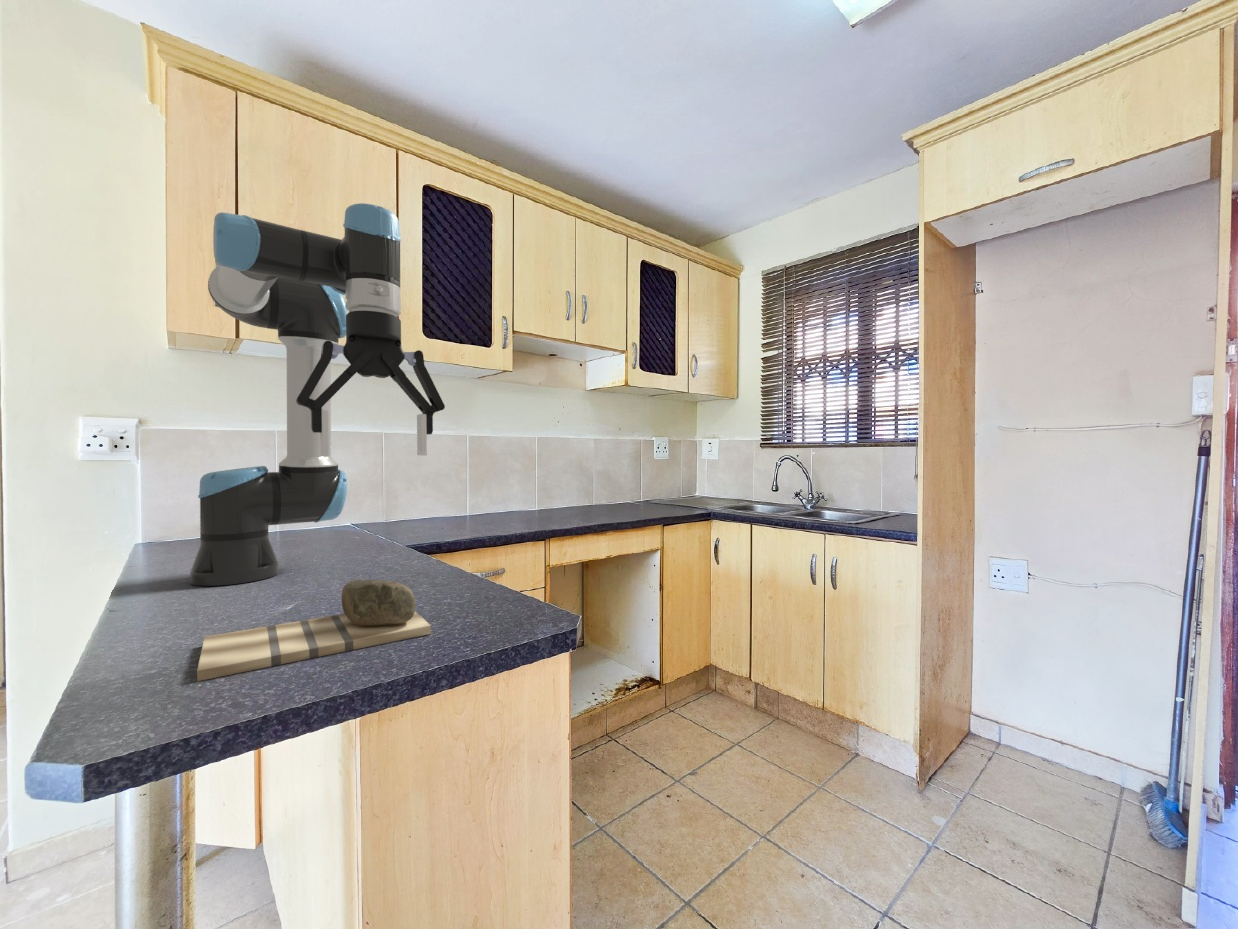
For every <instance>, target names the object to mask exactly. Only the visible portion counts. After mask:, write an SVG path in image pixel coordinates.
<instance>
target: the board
mask: <svg viewBox="0 0 1238 929" xmlns="http://www.w3.org/2000/svg"><path fill="white" fill-rule="evenodd" d="M427 635H432V625H431V624H430V623H429V622H428V621H426V619H424V618H423V617H422V616H421V615H420V614H419V613H418V612H417V611H415V613H414V615H413V617H412V618H411V619H410V620H409V621H407V622H405V623H401V624H394V625H391V624H389V625H377V626H360V625H357V624H354V623H353V622H352V621H351V620H349V619H348V618H347V616H346V615H345V613H340V614H334V615H328V616H321V617H315V618H310V619H304V620H298V621H293V622H292V621H291V622H285V623H279V624H275V625H274V624H273V625H269V626H261V627H255V628H249V629H243V630H238V631H237V630H236V631H230V632H225V633H218V634H212V635H207V636H204V637H203V638H204V639H203V643H202V648H201V652H200V657H199V661H198V665H197V670H196V674H197V676H196V677H197V678H196V680H197V682H200V681H201V682H202V681H206V680H210V679H216V678H220V677H225V676H230V675H236V674H241V673H245V672H249V671H250V672H251V671H255V670H260V669H264V668H265V669H266V668H270V667H273V666H280V665H285V664H290V663H295V662H299V661H305V660H310V659H315V658H319V657H325V656H329V655H334V654H339V653H344V652H348V651H354V650H359V649H364V648H368V647H373V646H378V645H383V644H387V643H393V642H398V641H403V640H408V639H413V638H417V637H422V636H427Z"/></svg>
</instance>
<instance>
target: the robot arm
mask: <svg viewBox="0 0 1238 929" xmlns="http://www.w3.org/2000/svg"><path fill="white" fill-rule="evenodd" d="M344 211H345V212H344V219H343V220H344V221H343V225H342V226H343V228H344V236H343V238H342V239H341V238H335V237H332V236H328V235H323V234H320V233H316V232H312V231H306V230H302V229H298V228H295V227H291V226H286V225H282V224H277V223H274V222H270V221H266V220H262V219H257V218H254V217H252V216H251V217H250V216H248V215H246V214H242V215H240V214H237V213H236V214H235V213H228V212H223V211H222V212H217V213H216V214H215V216H214V219H213V221H214V223H213V236H212V238H213V240H212V241H213V243H212V244H213V257H214V260H215V262H216V263H217V264H218V266H215V268H213V270H212V271H211V272H210V274H209V277H208V281H207V290H208V292H209V296H210V297H211V299H212V301H213V302H214V303H215V304H216V306H217V307H218V308H219V309H221V310H222V311H223V312H224V313H226V314H227V315H229V316H230V317H232V318H233V319H236V320H238V321H240V322H242V323H245V324H247V325H250V326H254V327H257V328H262V329H270V330H276V331H277V340H279V342H280V343H282V345H284V346H285V349H286V456H285V458H283V459H282V460H281V461H280V462H278V471H274V472H273V471H272V472H271V471H270V472H269V469H268V468H267V466H265V465H258V466H251V467H250V466H248V467H241V468H231V469H225V470H224V469H223V470H218V471H213V472H212V471H210V472H207V473H206V474H204V475H202V476H201V478H200V480H199V494H198V496H197V497H198V499H199V519H200V520H199V526H200V527H199V533H200V544H199V545H200V546H199V548H198V550H197V553H196V556H195V558H194V561H193V565H192V567H191V570H190V571H189V572H190V573H189V579H190V582H189V583H190V584H191V585H194V586H199V587H200V586H202V587H211V586H212V587H213V586H216V587H217V586H229V585H237V584H245V583H249V582H251V583H252V582H256V581H260V580H265V579H269V578H272V577H275V576H277V575H279V573H280V566H279V565H280V564H279V560H278V558H277V555H276V553H275V551H274V548H273V546H272V543H271V542H270V537H269V535H270V534H269V526H277V525H287V524H288V525H289V524H298V523H299V524H301V523H302V524H304V523H319V522H326V521H333V520H335V519H337V518H338V517H339V516H340V515H341V514H342V511H343V509H344V506H345V503H346V498H347V492H348V491H347V490H348V483H347V480H348V479H347V475H346V472H345V471H343V470H341V469H339V462H337V461H336V460H335V459H334V458H333V457H332V455H331V454H332V448H331V446H332V445H331V444H332V442H331V440H332V436H331V435H332V432H331V431H332V420H331V419H332V418H331V417H332V408H331V407H332V398H333V397H334V396H335V395H336V394H337V393H338V392H339V391H340V390H341V389H342V388H343V387H344V386H345V384H347V383H348V382H349V381H350V379H351V378H353V376H354V375H356V374H358V375H360V376H361V377H363V378H370V377H376V378H377V379H378V378H379V379H385V378H389V377H390V378H391V379H392V380H393V382H395V383H396V384H397V385H398V387H399V388H400V389H401V390H402V391H403V392H404V393H405V395H406V396H407V397H408V398H409V399H410V400H411V401H412V403H413V404H414V405H415V406H416V407H417V408H418V410H419V411H420V413H419V414H417V415H416V446H417V450H416V453H417V454H416V455H417V456H427V455H428V454H427V453H428V452H427V451H428V450H427V448H428V447H427V445H428V442H427V440H428V439H427V437H428V436H427V435H432V434H433V432H434V427H433V426H434V425H433V424H434V418H433V416H434V414H436V413H437V412H440V411H444V410H445V409H446V405H445V403H444V401H443V399H442V397H441V395H440V393H439V392H438V389H437V386H436V385H435V383H434V381H433V379H432V377H431V375H430V373H429V371H428V369H427V368H426V365H425V359H424V358H425V356H424V353H423V351H421V350H419V349H418V350H416V351H404V350H403V348H402V321H401V319H400V317H399V316H400V315H401V314H402V309H401V308H402V306H401V301H402V300H401V242H402V238H401V232H400V231H401V230H400V222H399V218H398V217H397V215H395V213H393V212H392V211H391V210H390V209H387V208H385V207H383V206H380V205H376V204H372V203H362V202H361V203H354V204H351V205H349V206H348V207H347V208H345V210H344ZM344 296H345V297H344ZM343 338H346V340H345V344H344V345H343V344H339V339H343ZM340 354H342V355H343V357H344V358H345V359H346V360H347V362H348V363H349V366H348V367H347V368H346V369H345V370H344V371H343V372H342V373H341V374H340V375H339V376H338V377H337V378H336V379H335V380H334V381H333V382H332V359H333V360H334V359H337V357H338V356H339V355H340ZM404 360H405V361H407V364H408V365H409V366H411V367H412V369H413V371H414V374H415V376H416V378H417V379H418V381H419V383H420V385H421V388H422V389H423V391H424V392H425V395H426V398H427V399H428V400H427V399H426V398H425V397H424V396H423V395H422V393H421V392H420V391H419V389H417V387H416V386H415V385H414V384H413V382H412V381H411V380H410V379H409V378H408V377H407V375H406V373H405V372H404V370H403V369H402V368H401V367H400V365H401V364H402V363H403V362H404Z"/></svg>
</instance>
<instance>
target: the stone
mask: <svg viewBox="0 0 1238 929" xmlns="http://www.w3.org/2000/svg"><path fill="white" fill-rule="evenodd" d="M414 594H415V593H414V592H413V591H412V589H410V588H409V587H408V586H407V585H405V584H402V583H401V582H396V581H391V580H381V579H380V580H379V579H355V580H350V581H349V582H347V583H346V584H344V585H343V588H342V591H341V606H342V610H343V614H345V615H346V616H347V618H348V619H349V620H351V621H352V622H353V623H354V624H357V625H360V626H377V625H389V624H391V625H394V624H401V623H405V622H407V621H409V620H410V619H411V618H412V617H413V615H414V613H415V612H416V607H417V604H416V598H415V595H414Z"/></svg>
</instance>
